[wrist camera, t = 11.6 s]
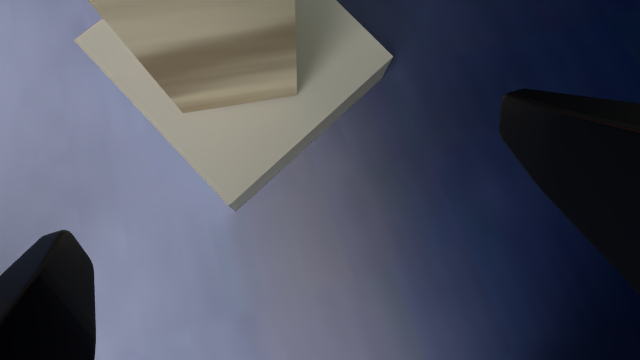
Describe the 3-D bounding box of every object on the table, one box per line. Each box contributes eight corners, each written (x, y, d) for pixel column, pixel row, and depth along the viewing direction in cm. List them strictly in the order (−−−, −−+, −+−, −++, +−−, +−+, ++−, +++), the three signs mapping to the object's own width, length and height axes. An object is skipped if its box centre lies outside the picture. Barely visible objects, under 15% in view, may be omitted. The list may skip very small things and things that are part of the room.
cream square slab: (379, 82, 23) (393, 56, 20) (237, 212, 21) (228, 205, 18) (250, -47, 23) (245, -90, 20) (103, 69, 22) (73, 40, 19)
